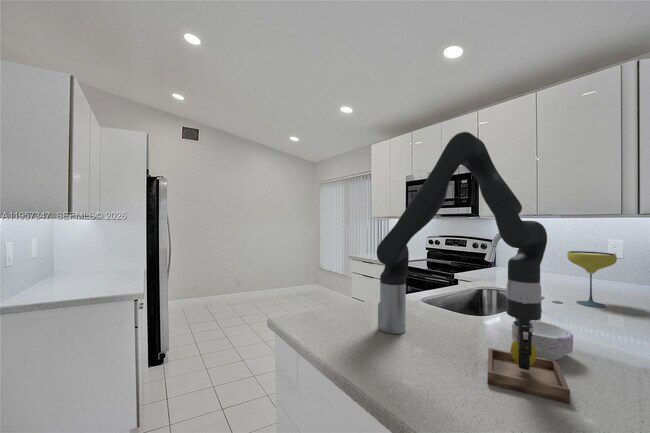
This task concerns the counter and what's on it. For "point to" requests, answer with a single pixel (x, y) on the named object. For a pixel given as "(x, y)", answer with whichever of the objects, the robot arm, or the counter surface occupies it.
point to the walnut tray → (527, 376)
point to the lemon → (516, 355)
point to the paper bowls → (549, 340)
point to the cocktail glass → (591, 267)
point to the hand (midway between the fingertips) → (522, 363)
